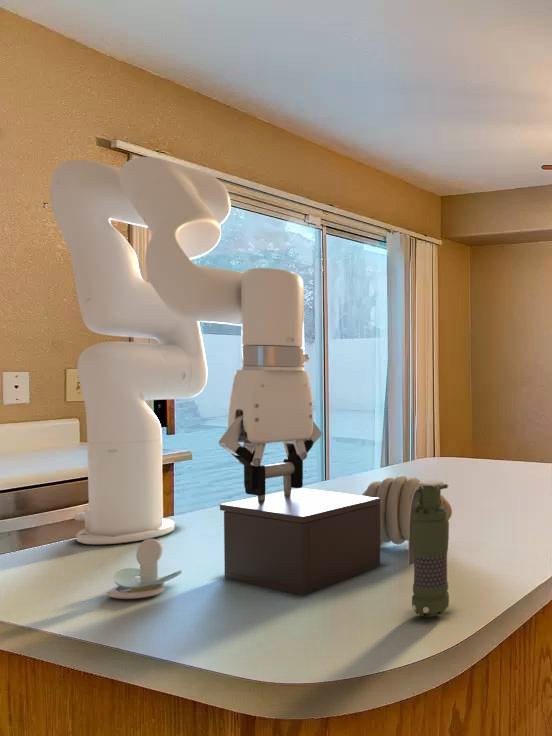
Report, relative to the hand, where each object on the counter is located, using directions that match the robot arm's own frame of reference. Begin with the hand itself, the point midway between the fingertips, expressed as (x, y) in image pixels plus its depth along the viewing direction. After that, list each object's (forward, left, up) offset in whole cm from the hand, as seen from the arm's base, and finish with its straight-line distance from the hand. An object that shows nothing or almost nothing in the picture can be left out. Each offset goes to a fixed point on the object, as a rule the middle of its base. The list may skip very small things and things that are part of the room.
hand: (274, 489), depth 82 cm
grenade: (+29, -11, -11) cm, 33 cm away
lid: (+5, -1, -2) cm, 6 cm away
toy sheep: (+12, +13, -11) cm, 20 cm away
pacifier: (-8, -12, -11) cm, 19 cm away
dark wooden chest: (+6, -1, -11) cm, 12 cm away
